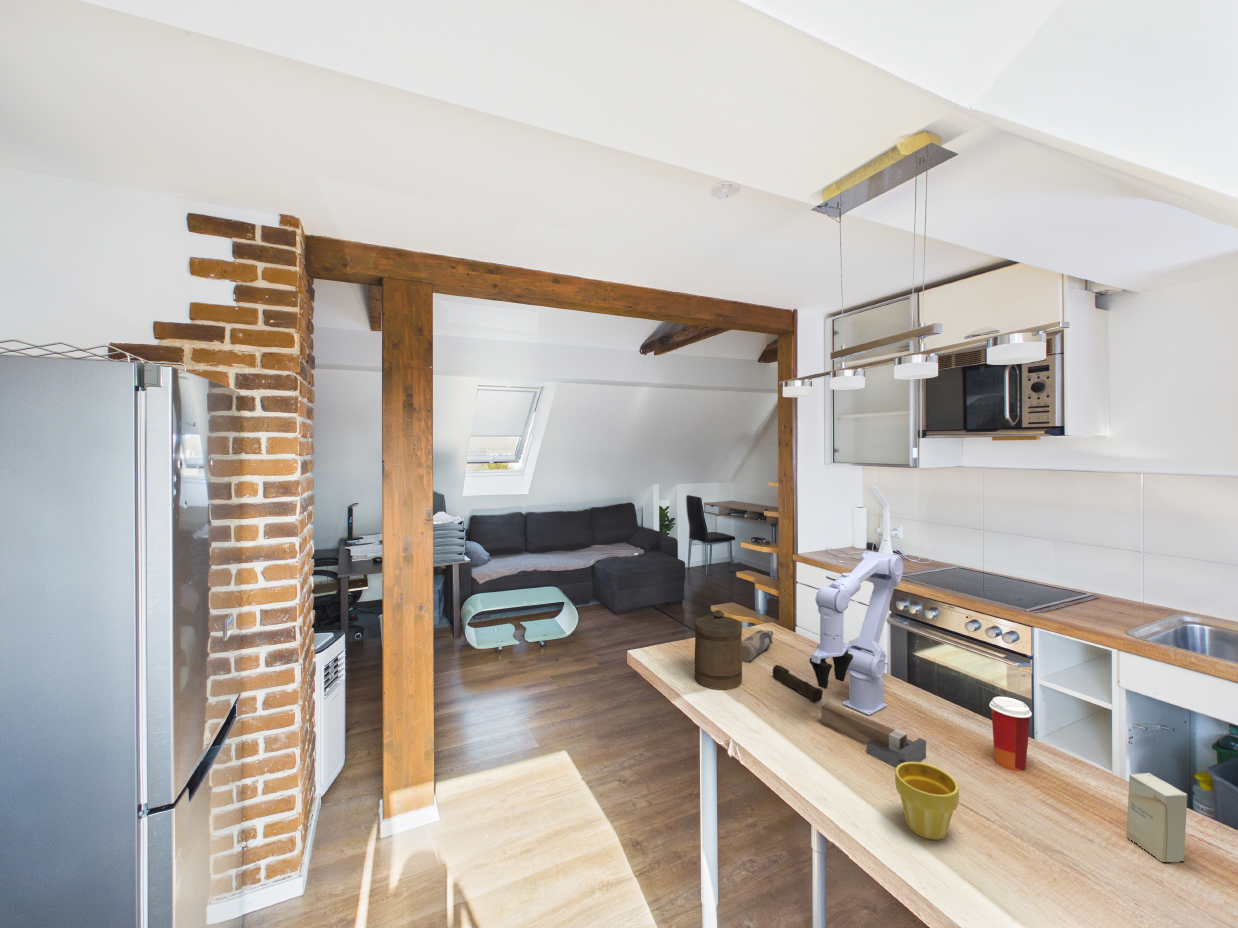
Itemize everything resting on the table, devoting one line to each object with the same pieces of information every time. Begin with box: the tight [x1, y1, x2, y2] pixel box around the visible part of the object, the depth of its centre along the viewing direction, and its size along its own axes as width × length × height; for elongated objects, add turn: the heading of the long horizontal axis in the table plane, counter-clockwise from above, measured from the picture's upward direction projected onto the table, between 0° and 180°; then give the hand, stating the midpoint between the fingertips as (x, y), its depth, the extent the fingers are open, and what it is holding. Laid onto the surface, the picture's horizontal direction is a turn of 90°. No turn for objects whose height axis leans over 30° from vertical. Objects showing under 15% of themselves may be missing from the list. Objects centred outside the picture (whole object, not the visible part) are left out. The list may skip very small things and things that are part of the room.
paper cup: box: [988, 696, 1033, 772], centre depth 117 cm, size 8×8×14 cm
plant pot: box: [894, 761, 960, 841], centre depth 98 cm, size 10×10×10 cm
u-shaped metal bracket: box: [866, 737, 927, 768], centre depth 121 cm, size 10×9×4 cm
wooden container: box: [694, 609, 743, 690], centre depth 162 cm, size 15×15×22 cm
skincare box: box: [1126, 772, 1188, 863], centre depth 92 cm, size 6×4×12 cm
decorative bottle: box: [742, 630, 774, 663], centre depth 186 cm, size 26×8×7 cm, turn 141°
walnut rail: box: [820, 701, 908, 753], centre depth 128 cm, size 4×20×5 cm, turn 36°
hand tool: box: [772, 664, 824, 703], centre depth 156 cm, size 19×4×5 cm, turn 22°
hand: (831, 683), depth 136 cm, fingers open, 7 cm apart
